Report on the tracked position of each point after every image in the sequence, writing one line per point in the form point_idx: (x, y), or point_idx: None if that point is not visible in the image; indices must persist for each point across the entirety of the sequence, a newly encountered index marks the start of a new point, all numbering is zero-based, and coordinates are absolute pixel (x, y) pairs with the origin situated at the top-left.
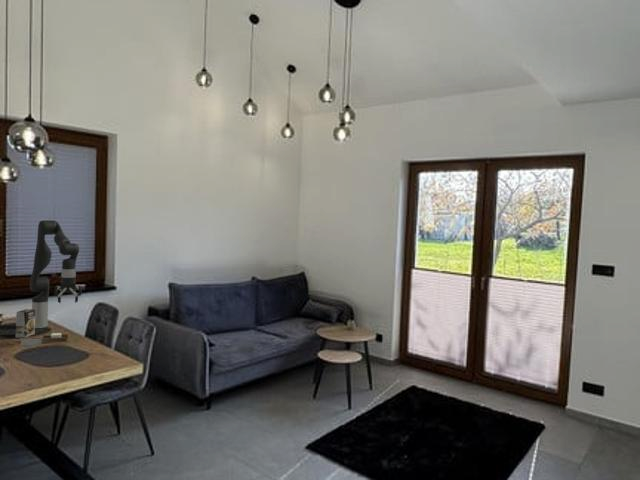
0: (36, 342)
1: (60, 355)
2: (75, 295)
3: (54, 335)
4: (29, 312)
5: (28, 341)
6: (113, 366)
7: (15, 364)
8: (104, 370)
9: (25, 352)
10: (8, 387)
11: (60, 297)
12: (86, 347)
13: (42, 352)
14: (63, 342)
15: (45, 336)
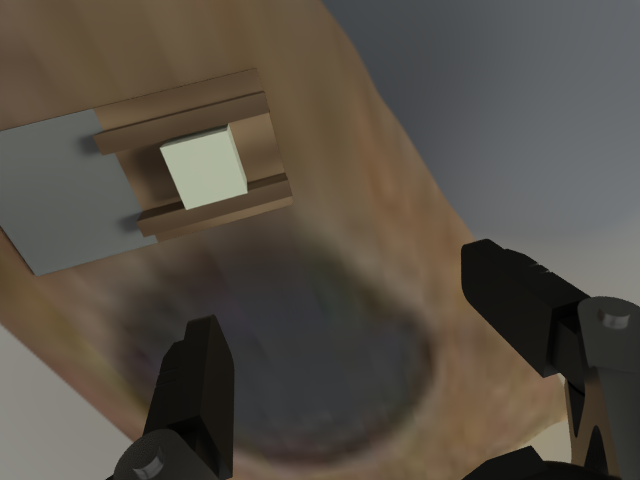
0: (104, 209)
1: (327, 371)
2: (575, 408)
3: (209, 203)
4: None
5: (29, 188)
6: (510, 431)
7: None
8: (486, 458)
9: (153, 357)
10: None
11: (231, 466)
12: (409, 261)
13: (234, 348)
14: (274, 201)
15: (119, 150)
